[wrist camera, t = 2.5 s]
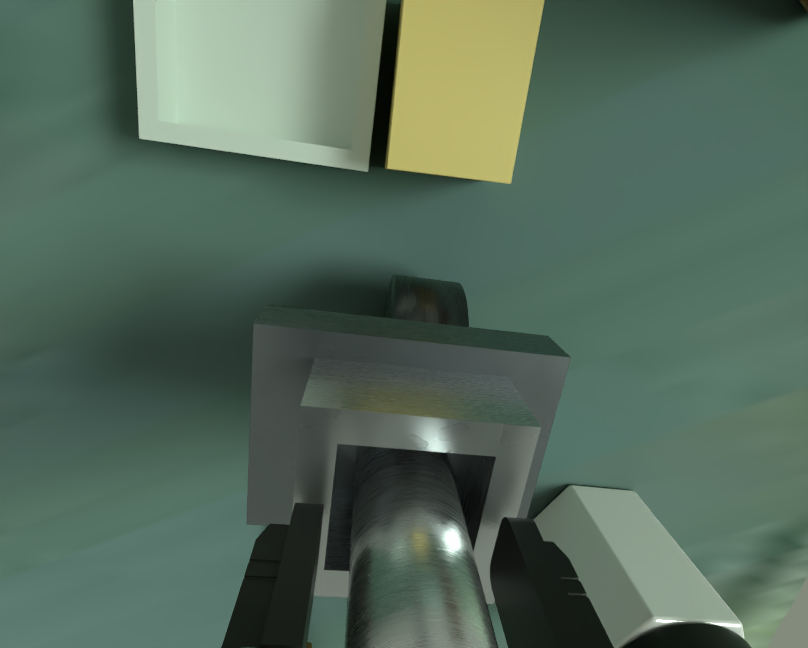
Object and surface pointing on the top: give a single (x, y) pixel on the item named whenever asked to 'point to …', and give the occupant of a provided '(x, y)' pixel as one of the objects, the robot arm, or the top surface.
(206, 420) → the top surface
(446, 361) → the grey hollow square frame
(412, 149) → the block
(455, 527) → the pin
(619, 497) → the jar
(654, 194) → the top surface
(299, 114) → the tray
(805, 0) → the block
